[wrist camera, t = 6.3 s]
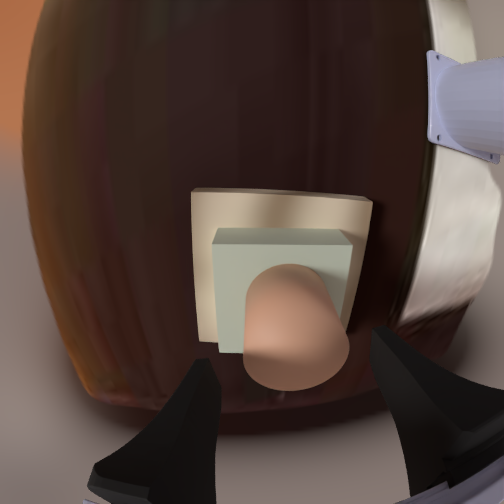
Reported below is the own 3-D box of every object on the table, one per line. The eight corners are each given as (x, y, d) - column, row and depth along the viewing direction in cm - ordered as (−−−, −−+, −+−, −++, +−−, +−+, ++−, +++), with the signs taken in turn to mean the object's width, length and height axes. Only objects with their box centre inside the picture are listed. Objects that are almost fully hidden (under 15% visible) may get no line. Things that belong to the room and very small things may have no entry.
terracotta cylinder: (318, 253, 16) (343, 301, 11) (332, 320, 17) (352, 375, 13) (234, 276, 16) (227, 331, 12) (258, 339, 18) (260, 398, 13)
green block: (338, 229, 18) (352, 245, 15) (324, 325, 21) (332, 350, 18) (217, 227, 18) (211, 244, 15) (222, 326, 21) (219, 352, 18)
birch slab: (359, 194, 20) (372, 202, 17) (335, 325, 24) (342, 342, 22) (198, 185, 20) (191, 192, 17) (203, 323, 24) (199, 341, 22)
